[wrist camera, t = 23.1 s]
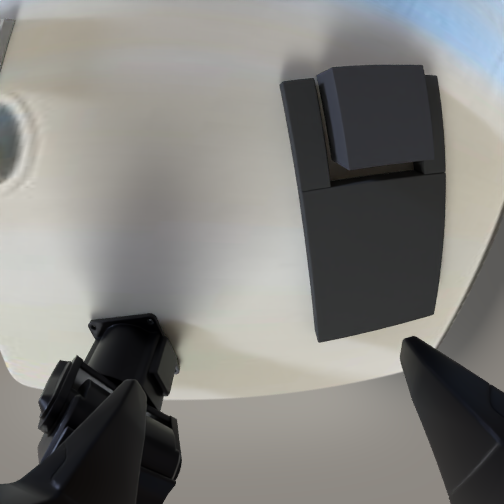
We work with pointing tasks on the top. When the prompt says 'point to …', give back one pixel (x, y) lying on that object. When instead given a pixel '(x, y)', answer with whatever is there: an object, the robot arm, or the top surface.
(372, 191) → the base pad
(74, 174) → the top surface
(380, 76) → the dark grey rectangular block
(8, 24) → the light grey notched plate
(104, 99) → the top surface
